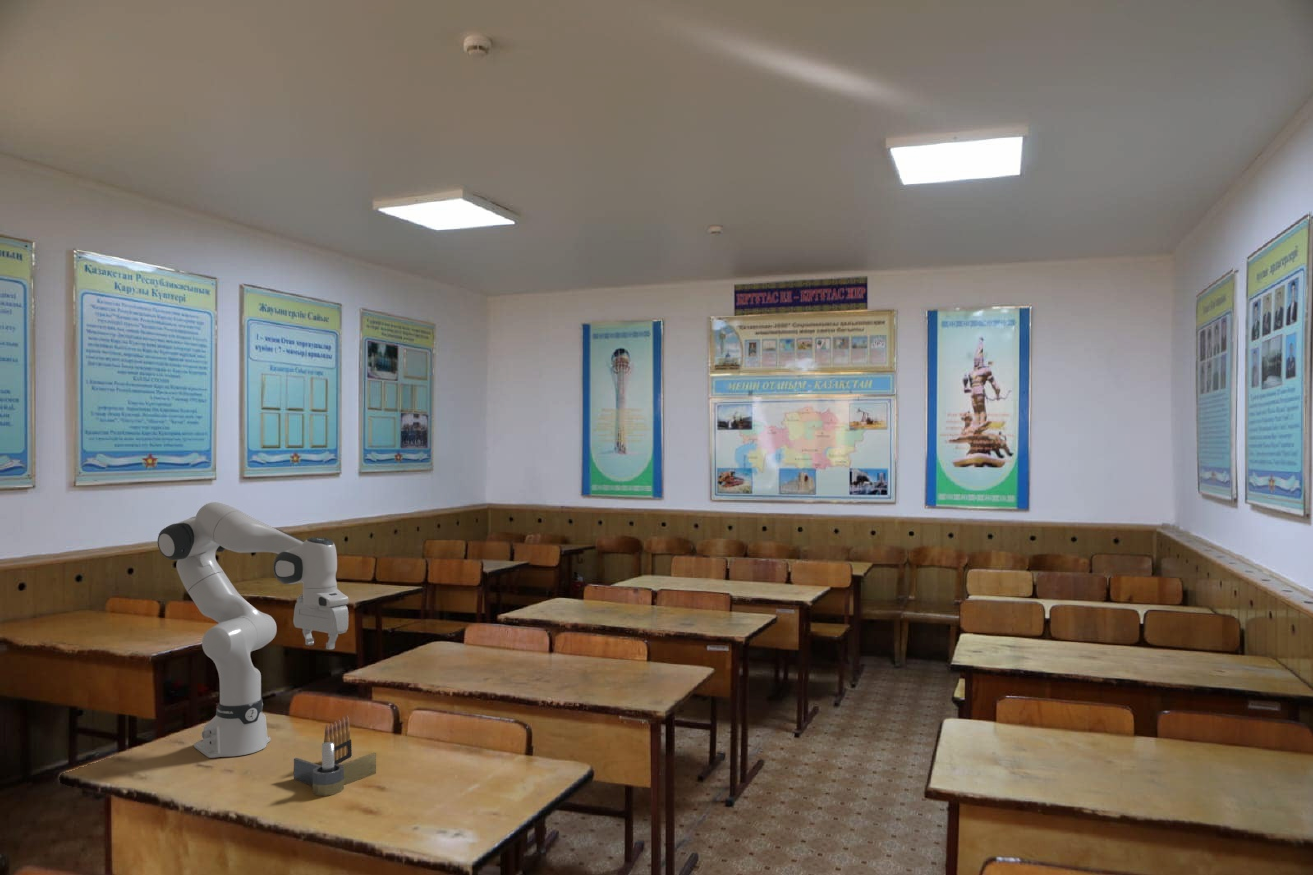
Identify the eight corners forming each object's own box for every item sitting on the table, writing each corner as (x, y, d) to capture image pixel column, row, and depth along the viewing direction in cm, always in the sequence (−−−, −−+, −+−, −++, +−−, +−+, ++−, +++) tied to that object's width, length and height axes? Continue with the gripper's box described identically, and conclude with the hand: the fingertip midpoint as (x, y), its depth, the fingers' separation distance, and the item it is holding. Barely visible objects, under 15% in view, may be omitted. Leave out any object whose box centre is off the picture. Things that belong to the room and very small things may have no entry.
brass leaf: (306, 791, 222) (307, 770, 222) (366, 770, 237) (366, 750, 237) (324, 797, 217) (324, 776, 218) (383, 775, 233) (383, 755, 233)
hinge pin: (319, 790, 222) (319, 744, 223) (329, 787, 225) (329, 740, 225) (326, 793, 221) (326, 746, 221) (336, 789, 223) (336, 743, 223)
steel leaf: (282, 782, 228) (282, 762, 228) (307, 774, 234) (307, 754, 234) (324, 797, 217) (324, 776, 218) (349, 788, 224) (349, 767, 224)
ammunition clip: (327, 769, 238) (327, 725, 238) (321, 768, 238) (321, 725, 239) (351, 756, 248) (352, 714, 248) (346, 755, 249) (346, 714, 249)
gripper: (287, 595, 241) (287, 644, 240) (332, 601, 229) (332, 653, 229) (307, 592, 246) (307, 640, 246) (352, 598, 234) (352, 649, 234)
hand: (319, 646), depth 237 cm, fingers open, 8 cm apart
